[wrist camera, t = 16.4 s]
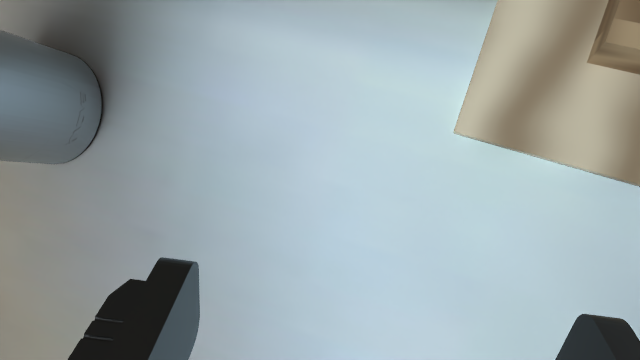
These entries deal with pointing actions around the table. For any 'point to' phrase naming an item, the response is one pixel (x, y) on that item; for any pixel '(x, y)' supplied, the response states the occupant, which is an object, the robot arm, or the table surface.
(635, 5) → the socket board
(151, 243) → the table surface
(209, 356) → the table surface
